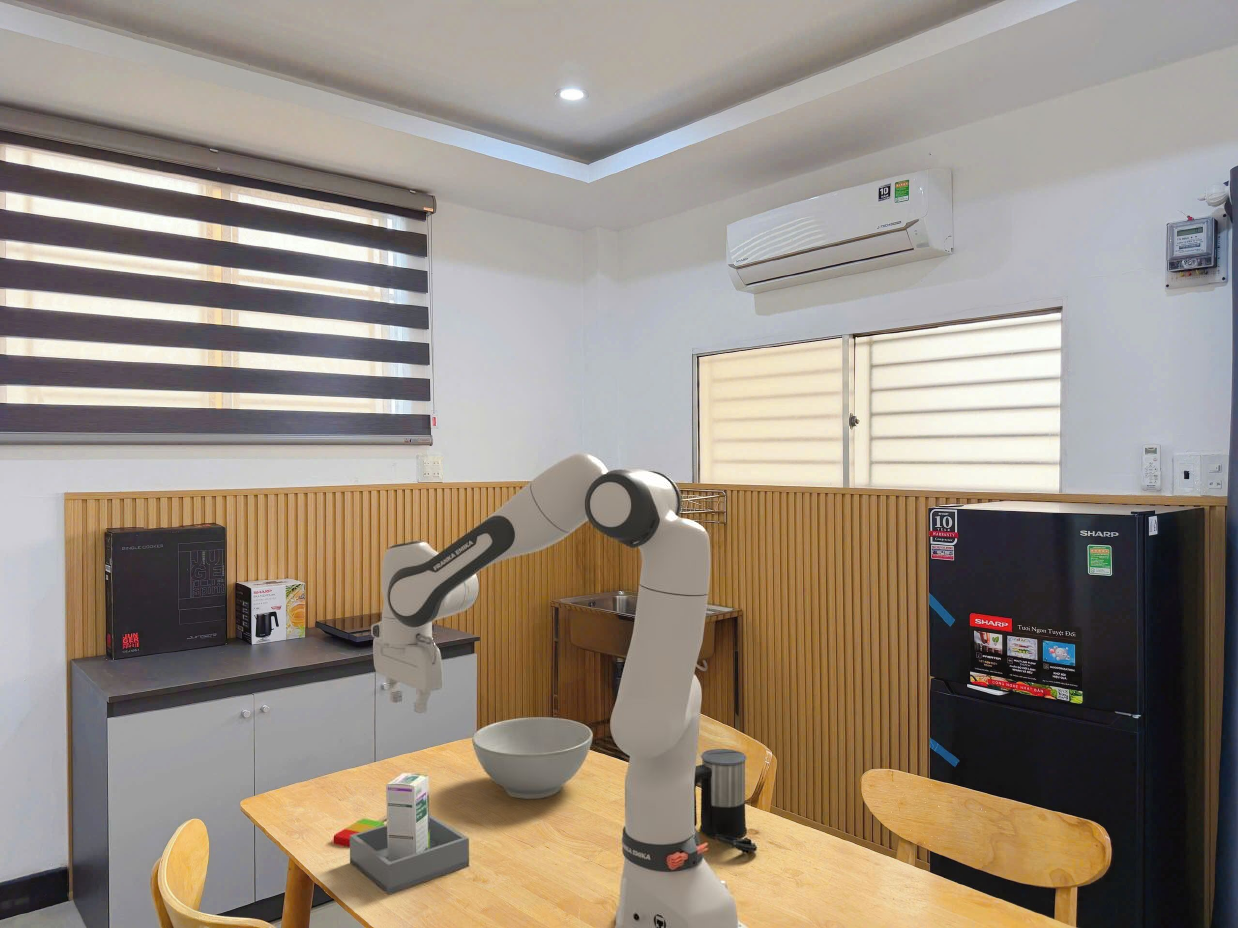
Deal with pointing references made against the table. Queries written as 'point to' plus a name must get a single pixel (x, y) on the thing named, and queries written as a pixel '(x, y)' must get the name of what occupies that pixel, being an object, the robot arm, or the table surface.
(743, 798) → the milk frother
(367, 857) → the bin
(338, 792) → the table surface
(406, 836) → the syrup box
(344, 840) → the popsicle
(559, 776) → the decorative bowl
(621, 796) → the table surface
